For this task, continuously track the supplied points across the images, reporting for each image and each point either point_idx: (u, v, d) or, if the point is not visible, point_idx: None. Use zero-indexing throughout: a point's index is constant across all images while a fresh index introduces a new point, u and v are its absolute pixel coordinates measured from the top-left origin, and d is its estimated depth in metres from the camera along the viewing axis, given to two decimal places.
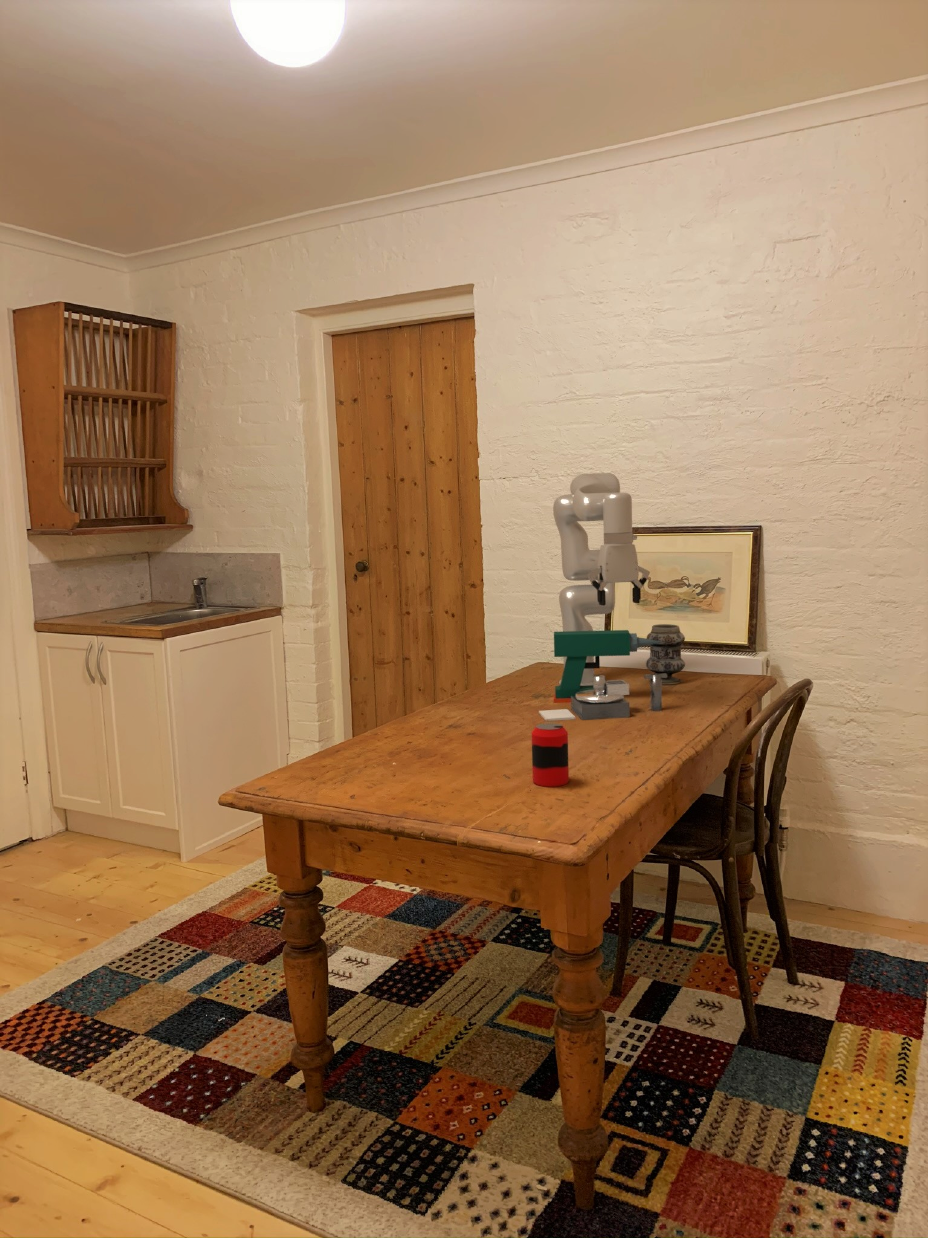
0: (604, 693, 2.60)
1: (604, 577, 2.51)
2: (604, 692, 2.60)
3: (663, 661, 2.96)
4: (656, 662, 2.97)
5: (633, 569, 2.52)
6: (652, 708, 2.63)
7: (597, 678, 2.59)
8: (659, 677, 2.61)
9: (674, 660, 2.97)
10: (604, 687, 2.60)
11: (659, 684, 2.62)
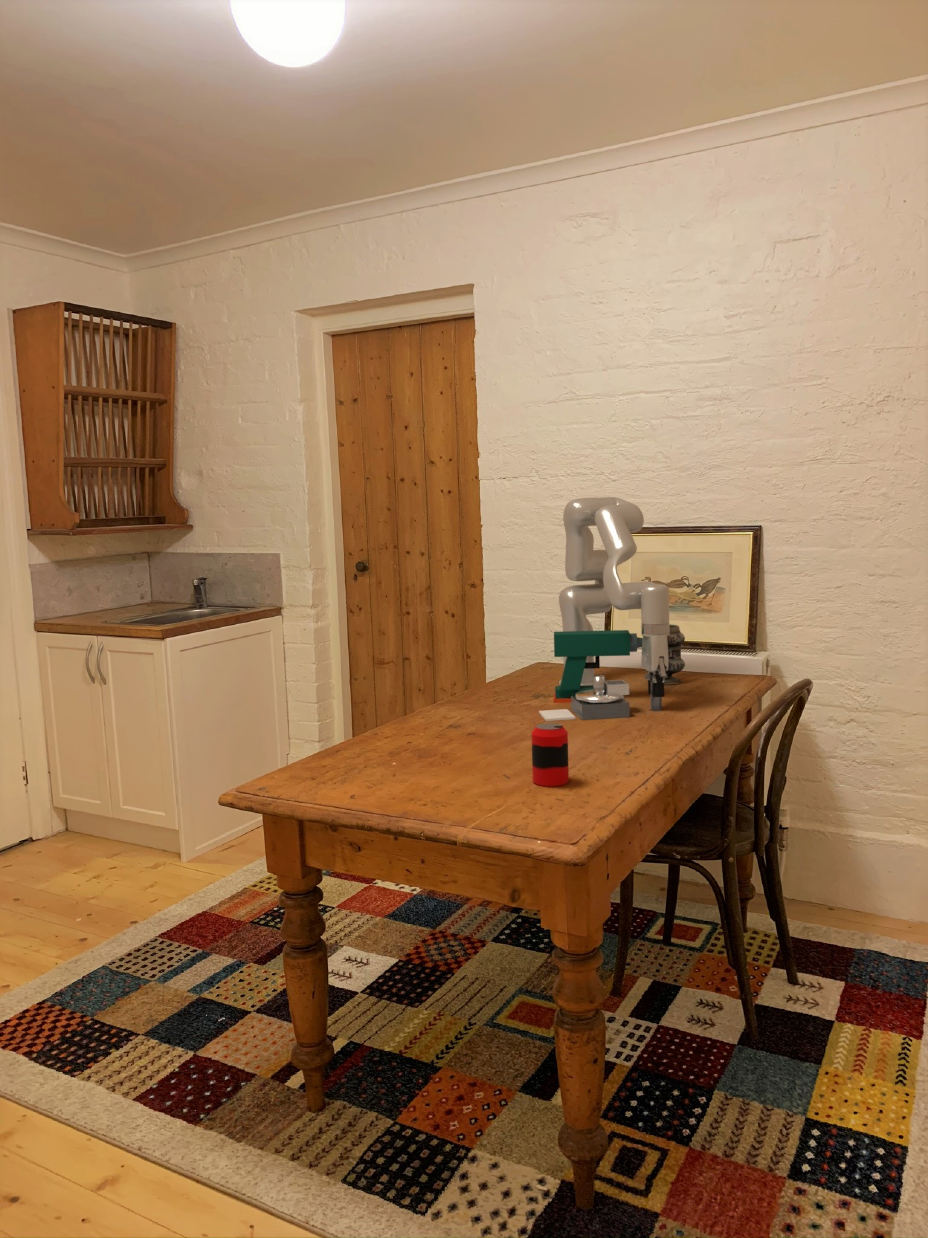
0: (604, 693, 2.60)
1: (667, 666, 2.58)
2: (604, 692, 2.60)
3: None
4: None
5: None
6: (652, 708, 2.63)
7: (597, 678, 2.59)
8: None
9: (674, 660, 2.97)
10: (604, 687, 2.60)
11: None
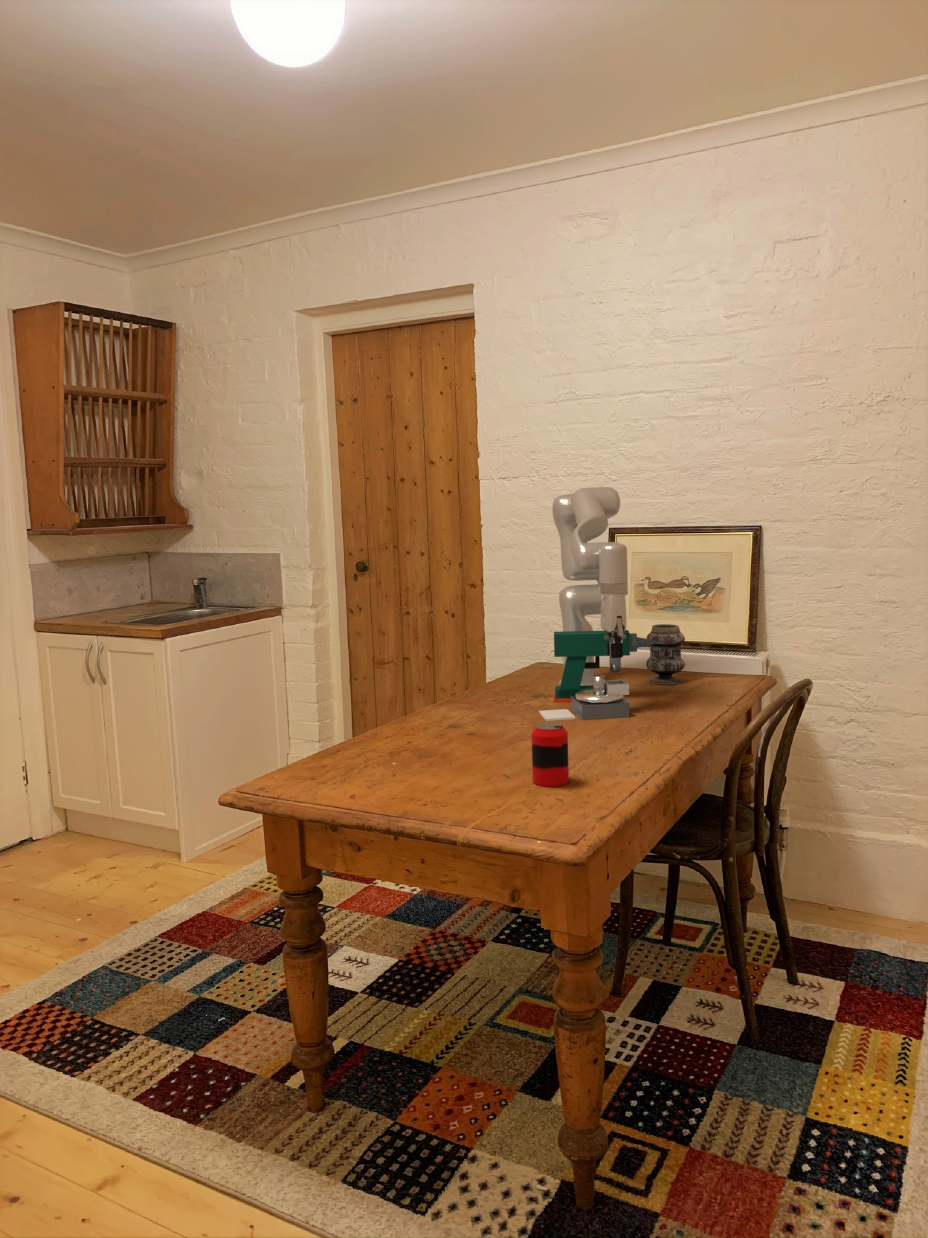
0: (604, 693, 2.60)
1: (625, 626, 2.55)
2: (604, 692, 2.60)
3: (663, 661, 2.96)
4: (656, 662, 2.97)
5: None
6: (611, 669, 2.60)
7: (597, 678, 2.59)
8: None
9: (674, 660, 2.97)
10: (604, 687, 2.60)
11: None
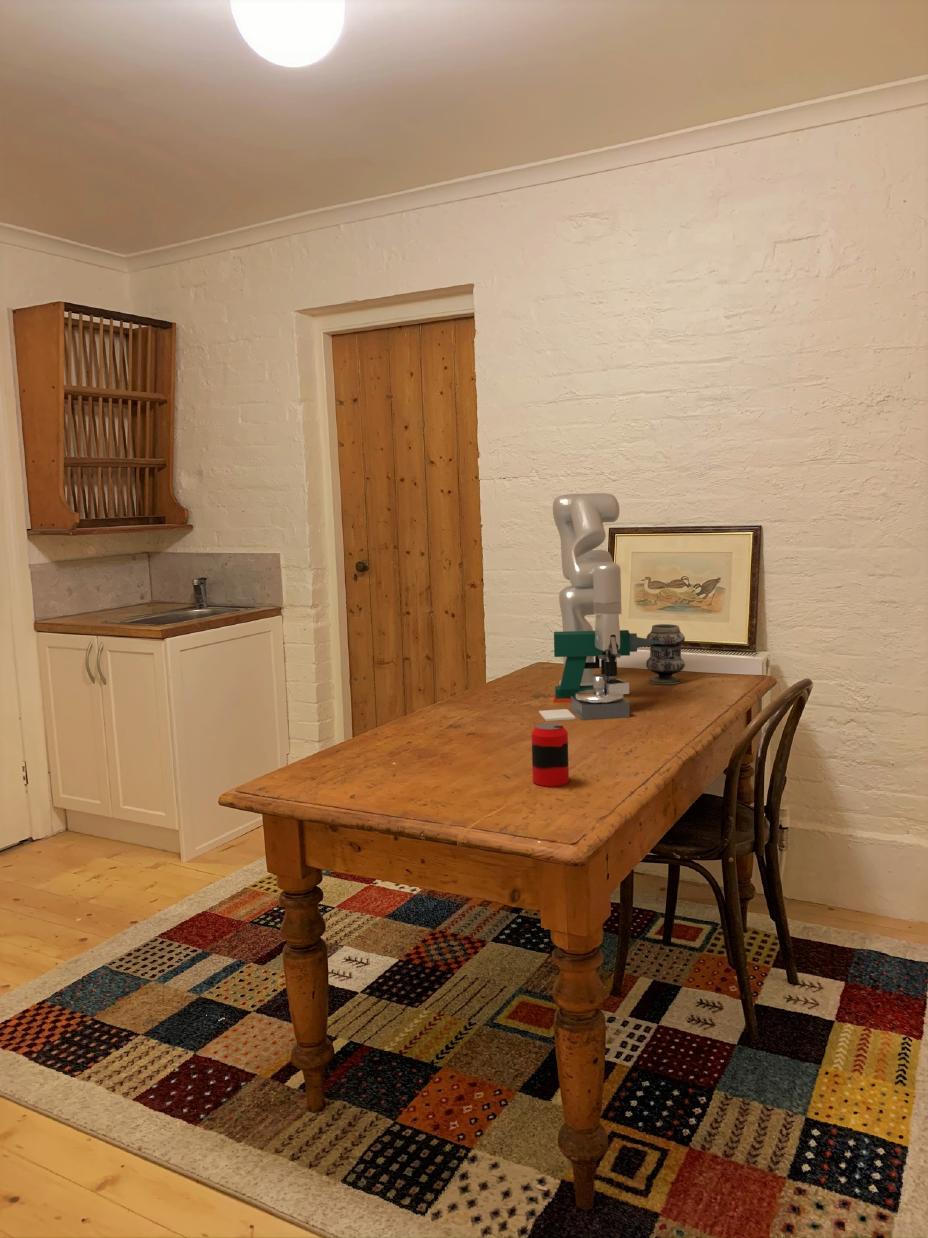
0: (604, 693, 2.61)
1: (619, 645, 2.58)
2: (604, 692, 2.61)
3: (663, 661, 2.96)
4: (656, 662, 2.97)
5: None
6: None
7: (598, 678, 2.59)
8: None
9: (674, 660, 2.97)
10: (604, 687, 2.60)
11: None
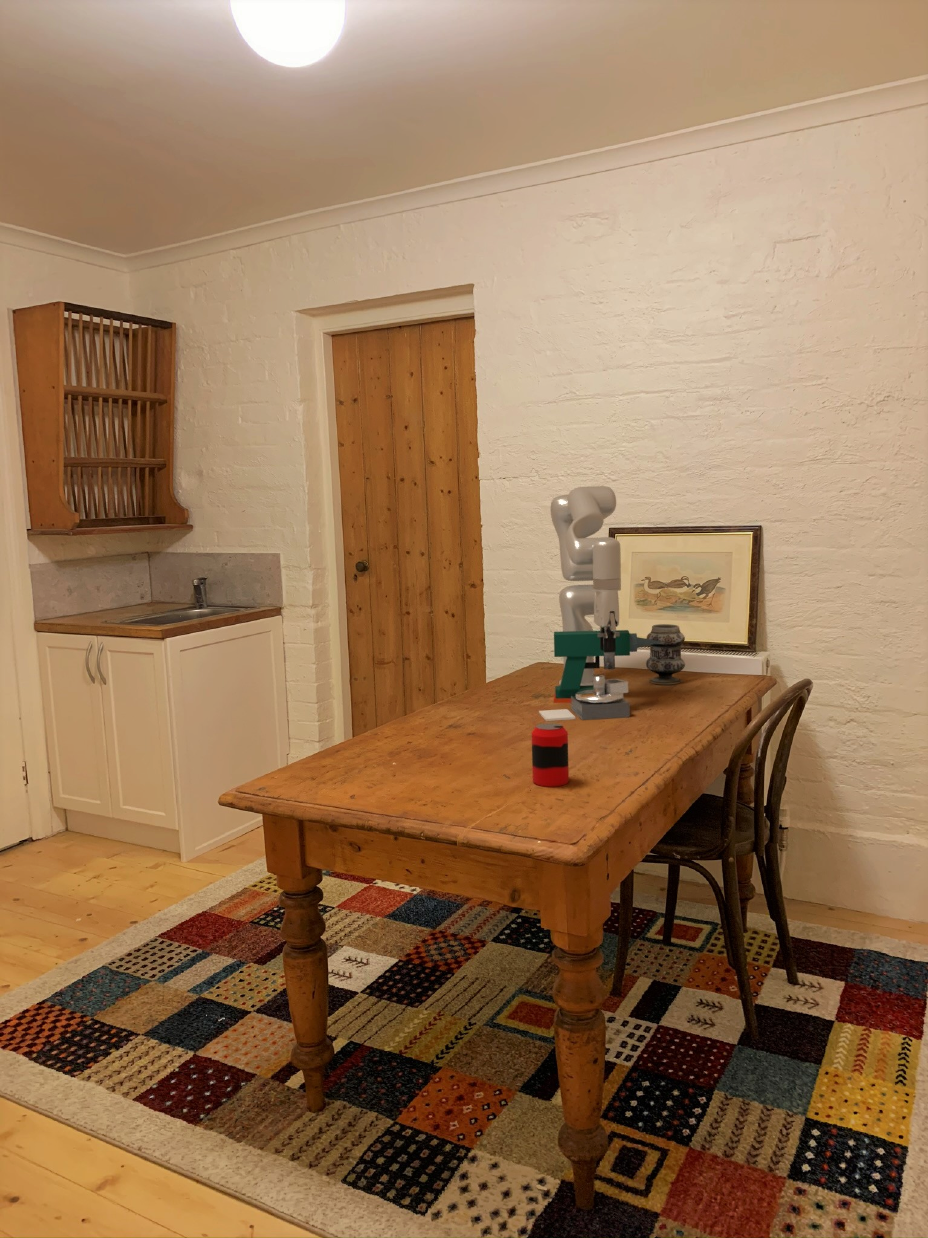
0: (605, 693, 2.61)
1: (618, 621, 2.58)
2: (605, 692, 2.61)
3: (663, 661, 2.96)
4: (656, 662, 2.97)
5: None
6: (604, 666, 2.64)
7: (599, 678, 2.59)
8: None
9: (674, 660, 2.97)
10: (605, 687, 2.61)
11: None
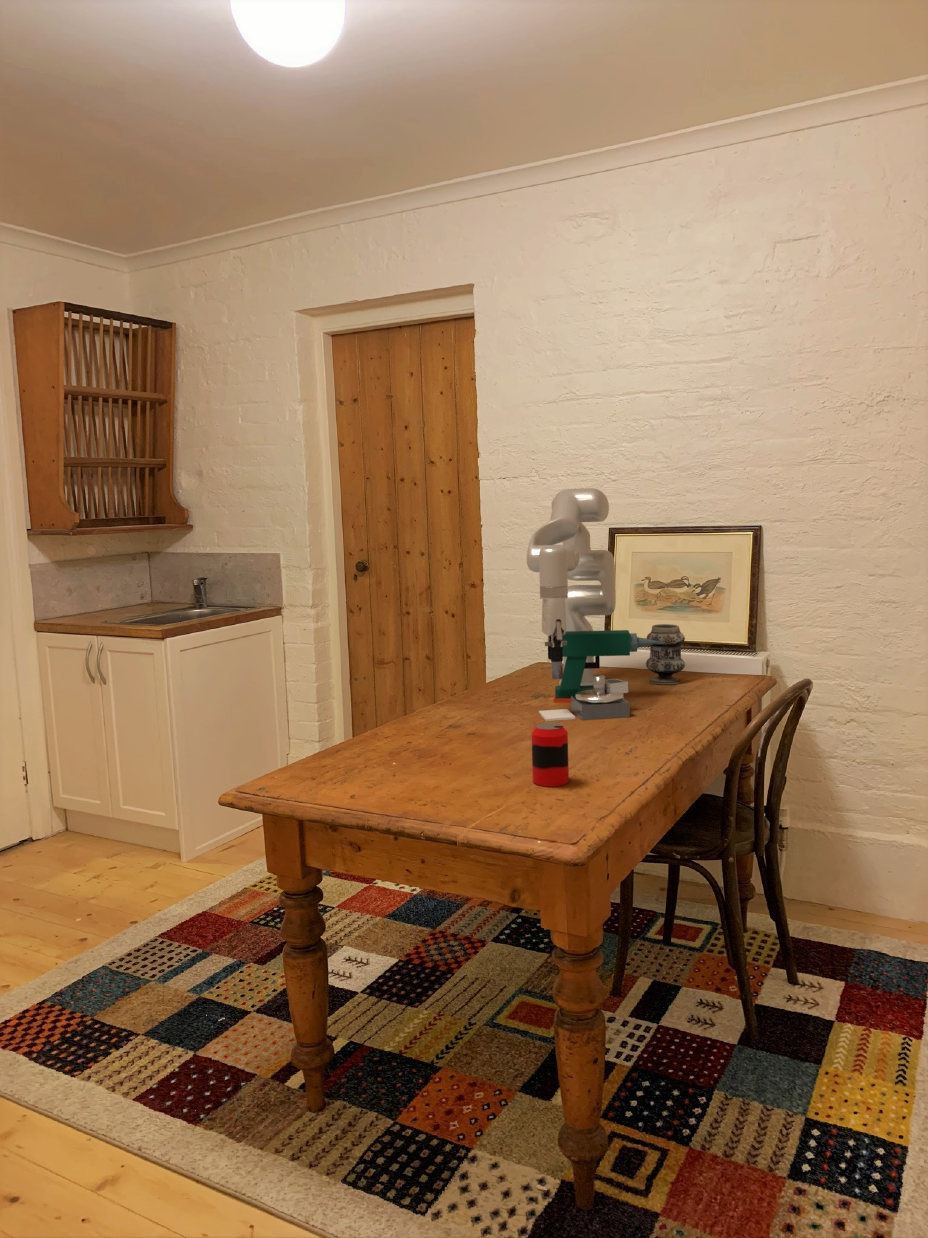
0: (605, 693, 2.61)
1: (565, 630, 2.53)
2: (605, 692, 2.61)
3: (663, 661, 2.96)
4: (656, 662, 2.97)
5: None
6: (552, 676, 2.59)
7: (599, 678, 2.59)
8: None
9: (674, 660, 2.97)
10: (605, 687, 2.61)
11: None
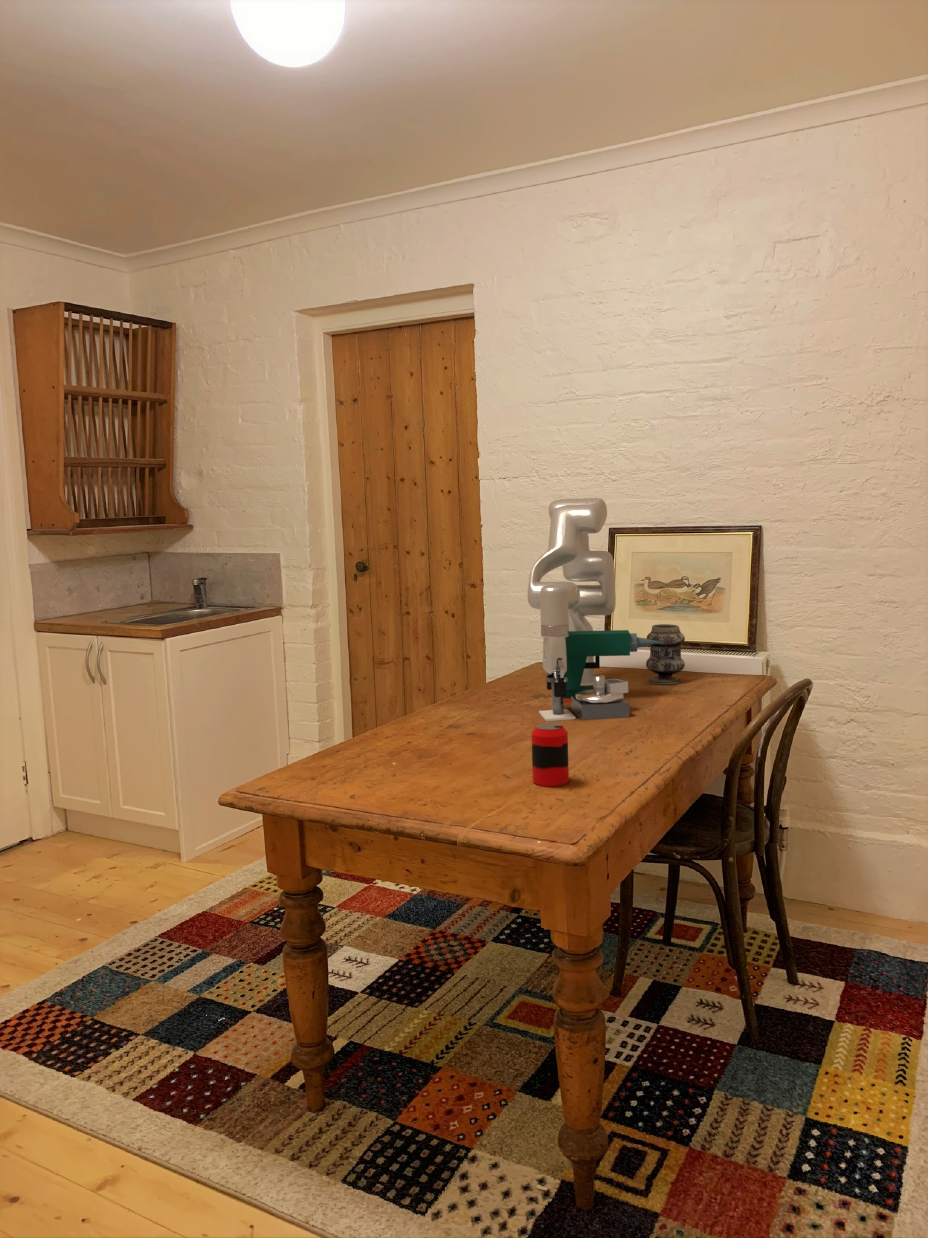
0: (605, 693, 2.61)
1: (566, 668, 2.55)
2: (605, 692, 2.61)
3: (663, 661, 2.96)
4: (656, 662, 2.97)
5: None
6: (553, 712, 2.60)
7: (599, 678, 2.59)
8: None
9: (674, 660, 2.97)
10: (605, 687, 2.61)
11: None
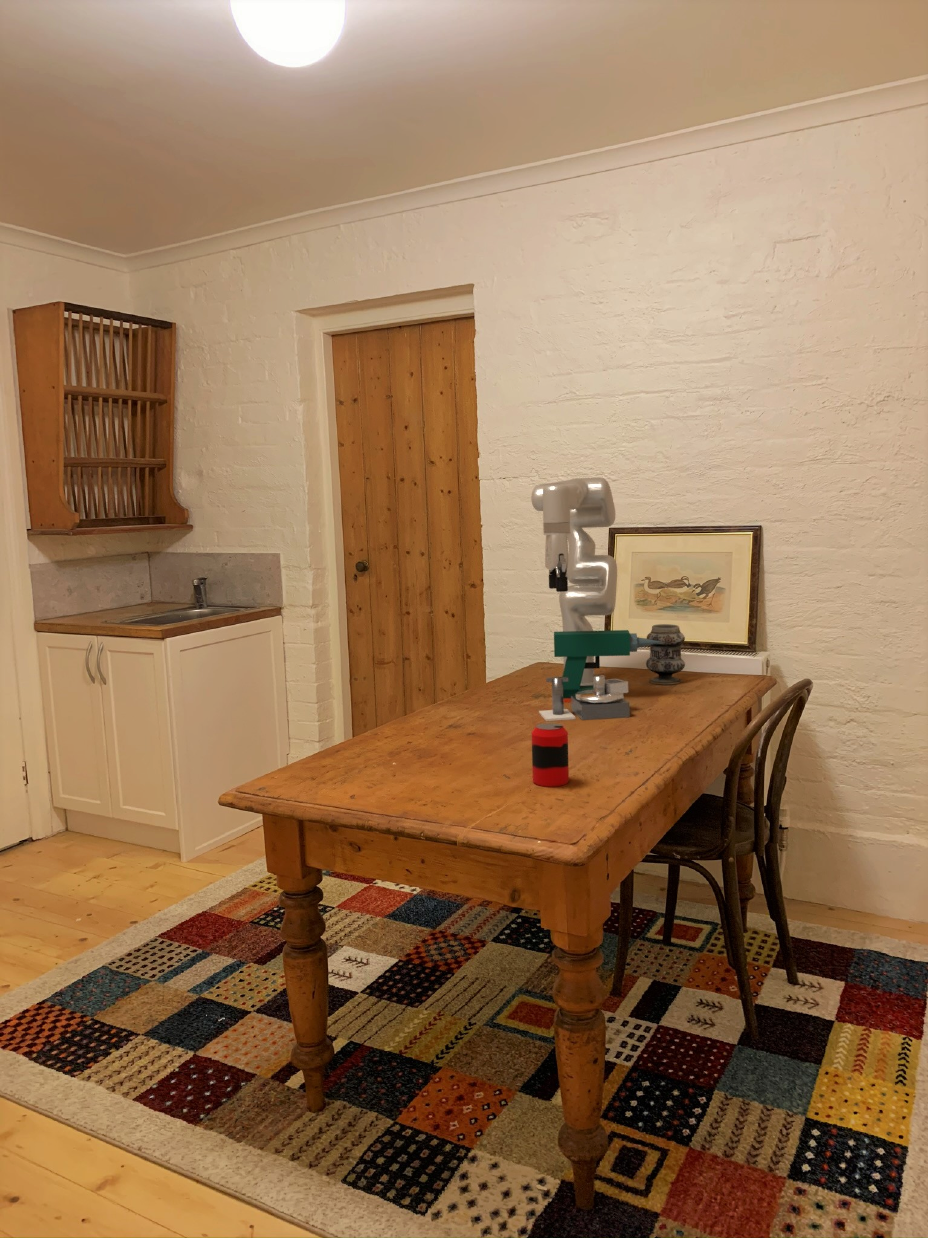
0: (605, 693, 2.61)
1: (567, 564, 2.64)
2: (605, 692, 2.61)
3: (663, 661, 2.96)
4: (656, 662, 2.97)
5: None
6: (553, 712, 2.60)
7: (599, 678, 2.59)
8: (559, 681, 2.58)
9: (674, 660, 2.97)
10: (605, 687, 2.61)
11: (559, 688, 2.58)
